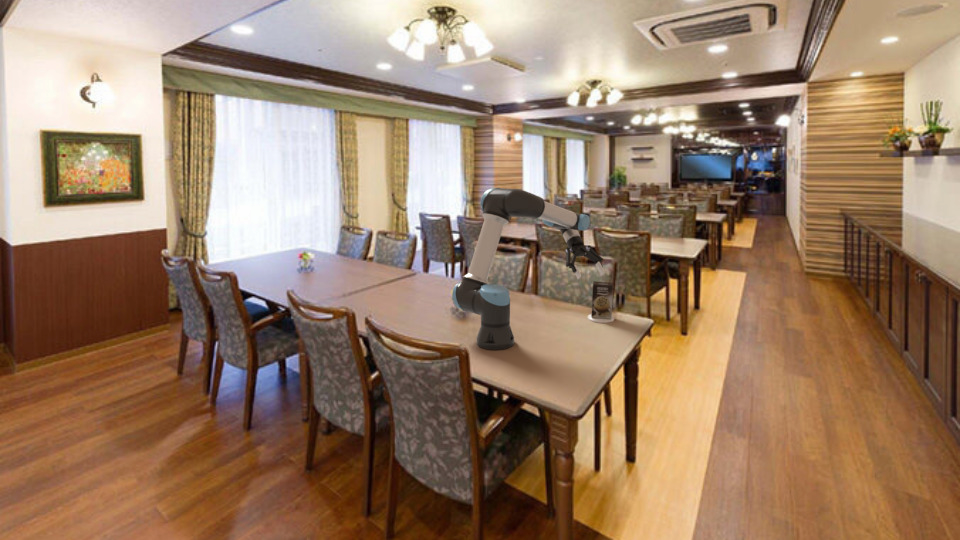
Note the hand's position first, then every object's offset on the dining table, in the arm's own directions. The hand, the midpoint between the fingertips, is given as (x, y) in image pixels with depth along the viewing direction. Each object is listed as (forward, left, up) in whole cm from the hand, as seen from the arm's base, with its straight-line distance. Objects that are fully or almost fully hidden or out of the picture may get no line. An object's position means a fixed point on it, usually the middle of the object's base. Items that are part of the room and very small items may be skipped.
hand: (591, 276), depth 229 cm
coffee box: (0, -8, -18) cm, 20 cm away
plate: (0, -8, -18) cm, 20 cm away
